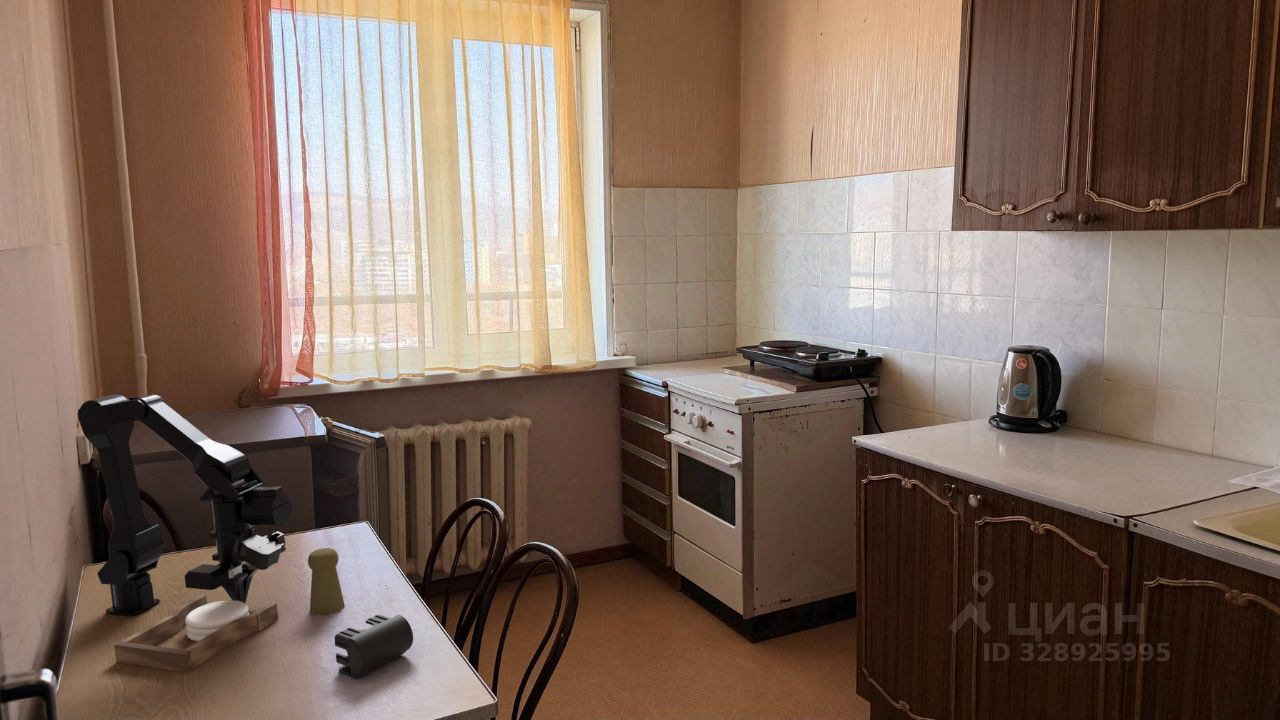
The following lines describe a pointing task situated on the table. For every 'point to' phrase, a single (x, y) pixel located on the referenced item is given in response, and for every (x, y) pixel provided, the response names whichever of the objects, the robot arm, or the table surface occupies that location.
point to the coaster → (213, 617)
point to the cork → (325, 582)
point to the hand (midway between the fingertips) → (241, 607)
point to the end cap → (373, 644)
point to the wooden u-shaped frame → (146, 654)
